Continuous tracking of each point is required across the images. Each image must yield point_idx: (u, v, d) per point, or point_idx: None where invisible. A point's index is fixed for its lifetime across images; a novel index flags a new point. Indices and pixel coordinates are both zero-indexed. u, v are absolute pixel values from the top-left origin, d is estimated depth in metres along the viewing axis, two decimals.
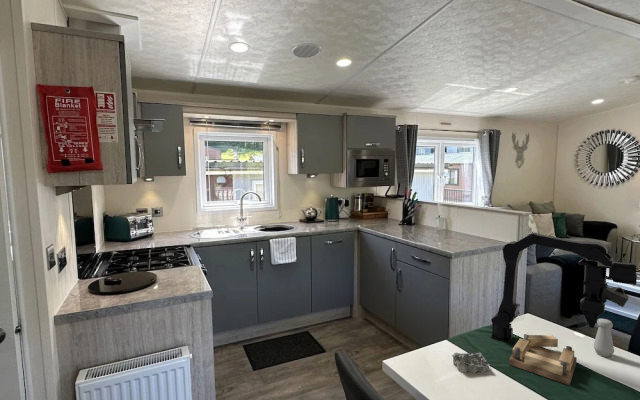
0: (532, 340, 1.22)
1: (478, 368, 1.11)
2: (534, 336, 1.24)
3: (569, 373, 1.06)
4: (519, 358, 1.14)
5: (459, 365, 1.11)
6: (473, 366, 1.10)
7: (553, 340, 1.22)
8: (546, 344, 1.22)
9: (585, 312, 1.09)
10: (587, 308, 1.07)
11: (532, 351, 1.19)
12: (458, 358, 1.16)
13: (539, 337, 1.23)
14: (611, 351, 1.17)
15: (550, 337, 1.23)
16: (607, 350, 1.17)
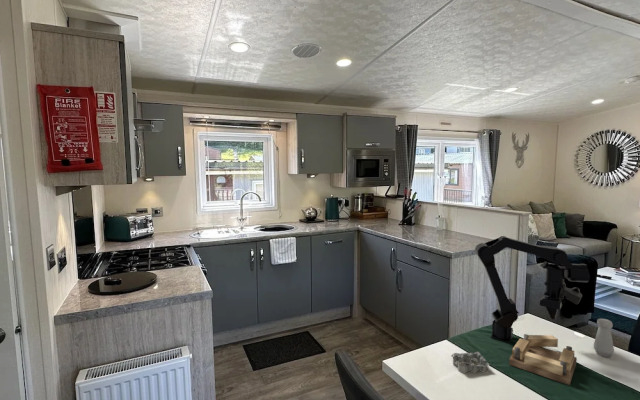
0: (532, 340, 1.22)
1: (478, 368, 1.11)
2: (534, 336, 1.24)
3: (569, 373, 1.06)
4: (519, 358, 1.14)
5: (460, 365, 1.11)
6: (473, 366, 1.10)
7: (553, 340, 1.22)
8: (546, 344, 1.22)
9: None
10: (546, 305, 1.22)
11: (532, 351, 1.19)
12: (457, 358, 1.16)
13: (539, 337, 1.23)
14: (611, 351, 1.17)
15: (550, 337, 1.23)
16: (607, 350, 1.17)
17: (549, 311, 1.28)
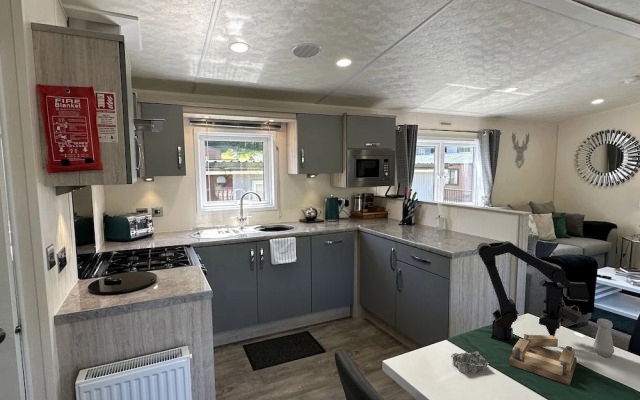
0: (532, 340, 1.22)
1: (478, 367, 1.11)
2: (534, 336, 1.24)
3: (569, 373, 1.06)
4: (519, 358, 1.14)
5: (460, 366, 1.10)
6: (474, 366, 1.10)
7: (553, 340, 1.22)
8: (546, 344, 1.22)
9: None
10: (545, 324, 1.21)
11: (532, 351, 1.19)
12: (456, 358, 1.16)
13: (539, 337, 1.23)
14: (611, 351, 1.17)
15: (550, 337, 1.23)
16: (607, 350, 1.17)
17: (548, 329, 1.27)
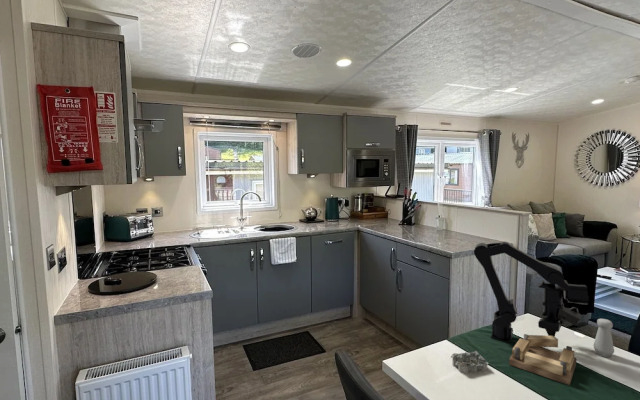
0: (532, 340, 1.22)
1: (478, 367, 1.12)
2: (534, 336, 1.24)
3: (569, 373, 1.06)
4: (519, 358, 1.14)
5: (461, 366, 1.10)
6: (474, 366, 1.10)
7: (553, 340, 1.21)
8: (546, 345, 1.22)
9: None
10: (544, 327, 1.19)
11: (532, 351, 1.19)
12: (456, 359, 1.16)
13: (539, 337, 1.23)
14: (611, 351, 1.17)
15: (551, 337, 1.23)
16: (607, 350, 1.17)
17: (548, 331, 1.25)
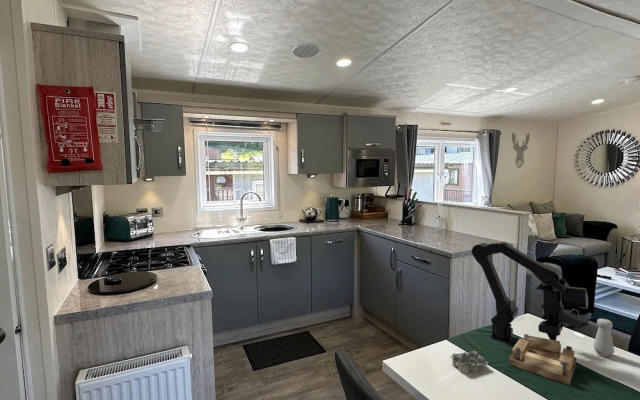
0: (530, 341, 1.22)
1: (477, 367, 1.12)
2: (536, 338, 1.22)
3: (569, 373, 1.06)
4: (519, 358, 1.14)
5: (461, 366, 1.10)
6: (474, 365, 1.10)
7: (555, 345, 1.18)
8: (546, 348, 1.19)
9: None
10: (545, 331, 1.15)
11: (532, 351, 1.19)
12: (456, 359, 1.16)
13: (540, 339, 1.21)
14: (611, 351, 1.17)
15: (554, 342, 1.19)
16: (607, 350, 1.17)
17: (549, 335, 1.22)
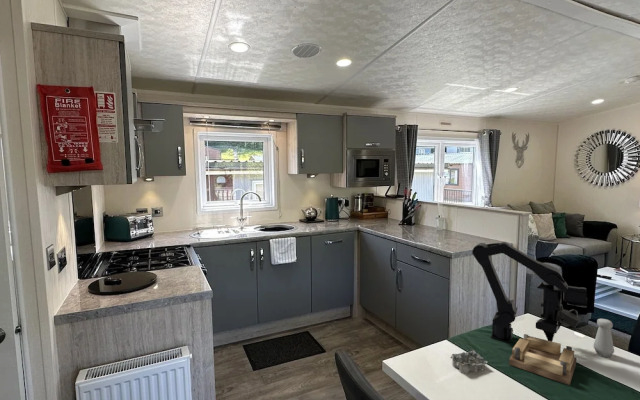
0: (529, 341, 1.22)
1: (477, 366, 1.12)
2: (536, 338, 1.22)
3: (569, 373, 1.06)
4: (519, 358, 1.14)
5: (462, 367, 1.10)
6: (474, 365, 1.10)
7: (554, 347, 1.17)
8: (545, 349, 1.19)
9: None
10: (542, 328, 1.18)
11: (532, 351, 1.19)
12: (455, 359, 1.16)
13: (540, 340, 1.20)
14: (611, 351, 1.17)
15: (555, 344, 1.18)
16: (607, 350, 1.17)
17: (546, 333, 1.24)
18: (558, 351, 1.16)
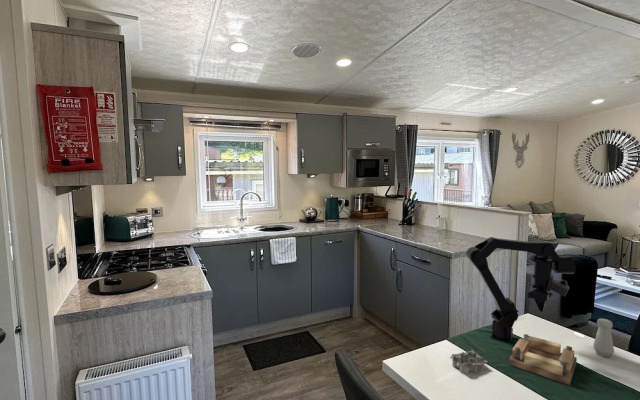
0: (529, 341, 1.22)
1: (477, 366, 1.12)
2: (536, 338, 1.22)
3: (569, 373, 1.06)
4: (519, 358, 1.14)
5: (462, 367, 1.10)
6: (474, 365, 1.11)
7: (554, 347, 1.17)
8: (545, 349, 1.19)
9: None
10: (533, 297, 1.24)
11: (532, 351, 1.19)
12: (455, 359, 1.15)
13: (540, 340, 1.20)
14: (611, 351, 1.17)
15: (555, 344, 1.18)
16: (607, 350, 1.17)
17: (537, 303, 1.30)
18: (558, 351, 1.16)
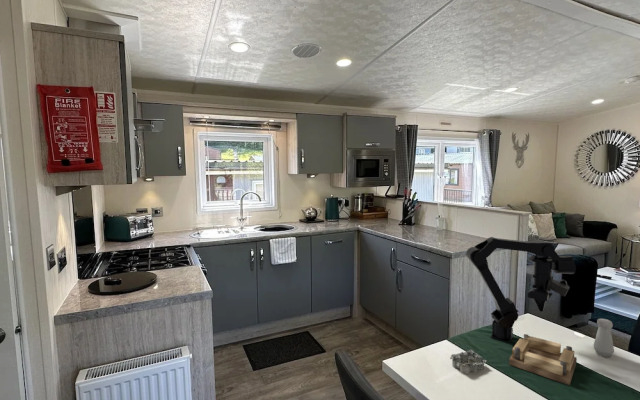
0: (529, 341, 1.22)
1: (477, 366, 1.12)
2: (536, 338, 1.22)
3: (569, 373, 1.06)
4: (519, 358, 1.14)
5: (463, 367, 1.10)
6: (474, 365, 1.11)
7: (554, 347, 1.17)
8: (545, 349, 1.19)
9: None
10: (533, 297, 1.24)
11: (532, 351, 1.19)
12: (455, 359, 1.15)
13: (540, 340, 1.20)
14: (611, 351, 1.17)
15: (555, 344, 1.18)
16: (607, 350, 1.17)
17: (537, 303, 1.30)
18: (558, 351, 1.16)
